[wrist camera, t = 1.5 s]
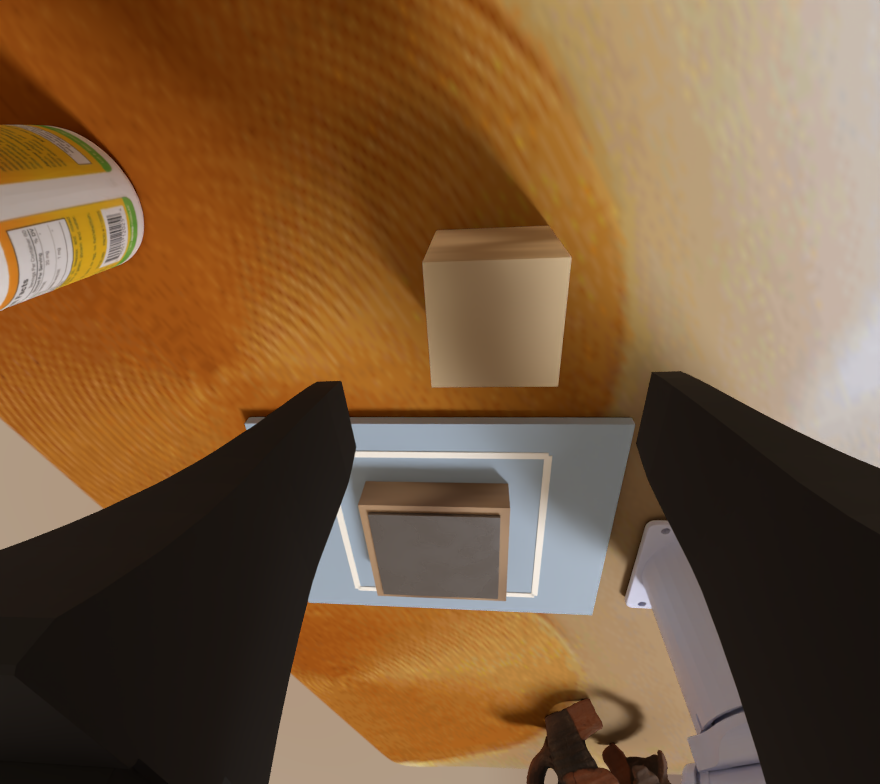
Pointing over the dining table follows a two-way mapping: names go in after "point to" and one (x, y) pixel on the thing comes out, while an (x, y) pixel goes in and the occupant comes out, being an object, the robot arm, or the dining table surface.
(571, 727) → the pottery mug
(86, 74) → the dining table surface
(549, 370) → the oak block
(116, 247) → the supplement bottle
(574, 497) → the board
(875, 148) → the dining table surface
